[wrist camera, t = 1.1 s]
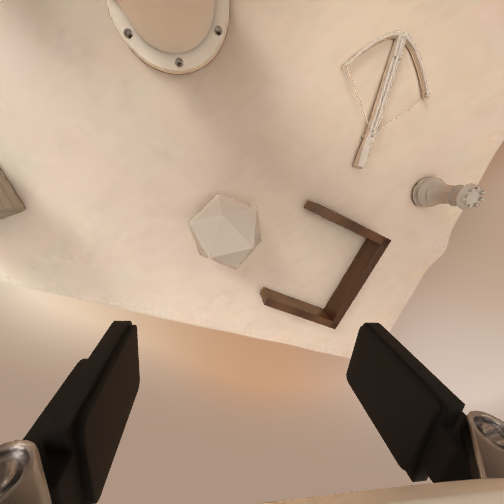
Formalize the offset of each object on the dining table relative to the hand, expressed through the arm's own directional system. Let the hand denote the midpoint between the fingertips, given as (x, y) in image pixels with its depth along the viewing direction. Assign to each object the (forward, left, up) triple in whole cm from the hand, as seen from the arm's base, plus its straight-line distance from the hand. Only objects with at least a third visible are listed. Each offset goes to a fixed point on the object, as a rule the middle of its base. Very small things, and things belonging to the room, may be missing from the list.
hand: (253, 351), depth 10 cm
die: (0, -1, -27) cm, 27 cm away
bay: (+16, -1, -26) cm, 31 cm away
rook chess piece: (+26, +16, -27) cm, 41 cm away
